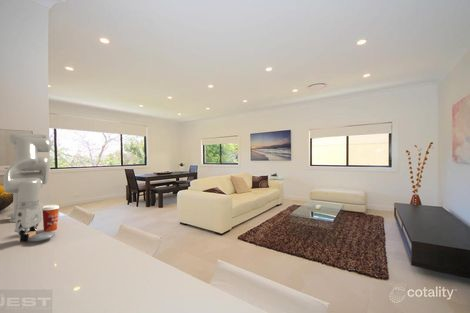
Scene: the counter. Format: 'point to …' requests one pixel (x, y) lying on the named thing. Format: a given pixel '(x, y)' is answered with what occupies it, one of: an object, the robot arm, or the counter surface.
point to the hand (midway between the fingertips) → (28, 239)
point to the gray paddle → (39, 235)
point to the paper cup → (50, 217)
